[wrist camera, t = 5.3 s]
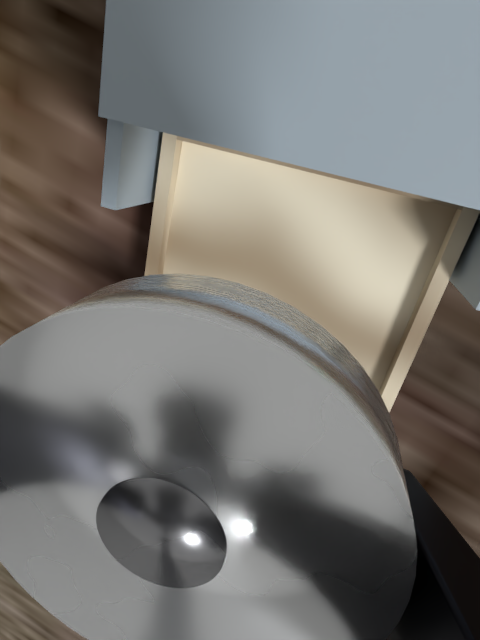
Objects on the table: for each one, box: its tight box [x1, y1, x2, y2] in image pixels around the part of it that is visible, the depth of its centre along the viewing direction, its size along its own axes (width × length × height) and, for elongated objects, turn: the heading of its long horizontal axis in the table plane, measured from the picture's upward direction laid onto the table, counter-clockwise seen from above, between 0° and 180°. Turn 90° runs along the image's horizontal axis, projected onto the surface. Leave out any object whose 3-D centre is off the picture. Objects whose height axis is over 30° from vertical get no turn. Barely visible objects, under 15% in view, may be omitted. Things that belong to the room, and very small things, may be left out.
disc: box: [0, 274, 417, 640], centre depth 7 cm, size 7×7×2 cm
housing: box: [98, 0, 480, 311], centre depth 13 cm, size 14×14×5 cm
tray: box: [144, 132, 480, 412], centre depth 15 cm, size 14×13×8 cm
